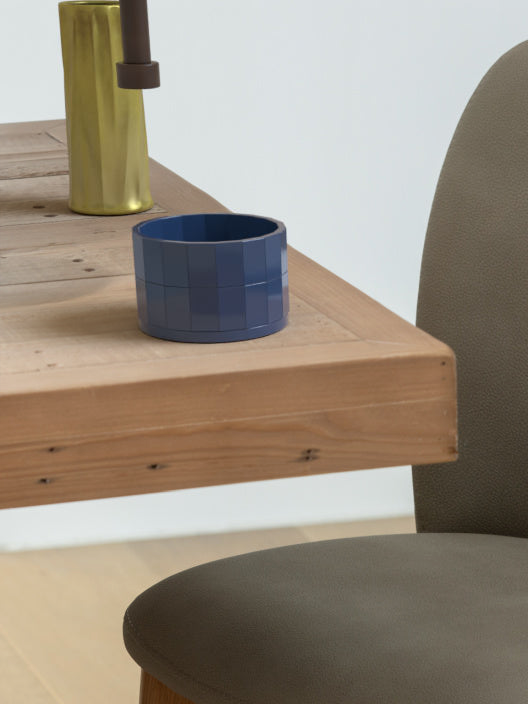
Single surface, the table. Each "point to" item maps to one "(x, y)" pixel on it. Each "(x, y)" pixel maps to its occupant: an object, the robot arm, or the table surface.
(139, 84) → the stir stick
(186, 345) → the table surface
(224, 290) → the bowl
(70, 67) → the vase
